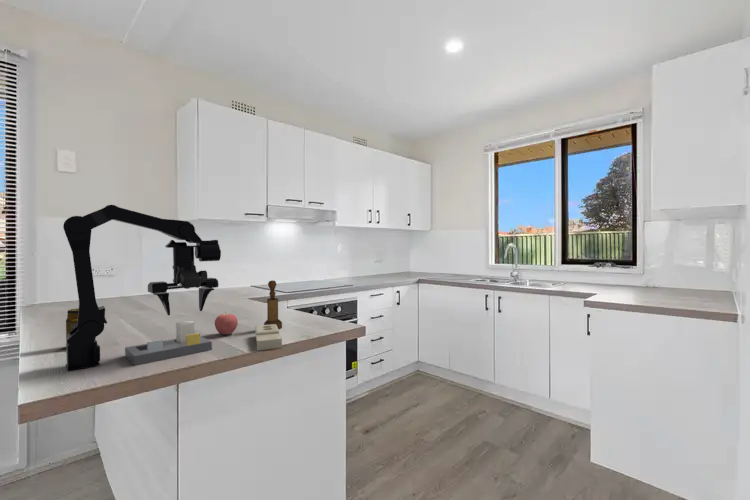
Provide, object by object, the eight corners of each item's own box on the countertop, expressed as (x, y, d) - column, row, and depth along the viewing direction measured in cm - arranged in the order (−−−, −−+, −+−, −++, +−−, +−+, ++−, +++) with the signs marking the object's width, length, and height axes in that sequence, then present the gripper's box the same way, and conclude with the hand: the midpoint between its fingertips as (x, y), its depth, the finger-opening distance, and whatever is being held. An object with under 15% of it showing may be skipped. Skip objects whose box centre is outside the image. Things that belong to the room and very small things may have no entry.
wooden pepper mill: (279, 330, 137) (278, 281, 137) (261, 330, 138) (260, 281, 137) (283, 326, 144) (283, 279, 144) (267, 326, 144) (266, 279, 144)
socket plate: (134, 365, 100) (134, 344, 99) (125, 355, 108) (124, 337, 108) (211, 349, 113) (211, 331, 113) (197, 342, 122) (197, 325, 122)
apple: (211, 334, 132) (210, 312, 132) (230, 330, 138) (230, 309, 138) (221, 338, 127) (220, 314, 127) (241, 333, 133) (240, 311, 133)
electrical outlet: (257, 338, 112) (255, 325, 129) (257, 351, 112) (255, 337, 129) (281, 335, 115) (276, 323, 132) (281, 348, 115) (276, 335, 132)
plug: (180, 351, 113) (180, 324, 112) (176, 348, 115) (176, 322, 115) (194, 348, 115) (194, 322, 115) (190, 345, 118) (189, 320, 118)
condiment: (97, 343, 122) (96, 307, 122) (78, 351, 114) (76, 312, 113) (74, 344, 122) (73, 307, 122) (53, 352, 113) (52, 312, 113)
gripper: (156, 264, 102) (158, 321, 103) (224, 261, 115) (226, 312, 116) (146, 263, 111) (148, 316, 111) (211, 260, 123) (212, 307, 124)
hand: (185, 313), depth 115 cm, fingers open, 9 cm apart
